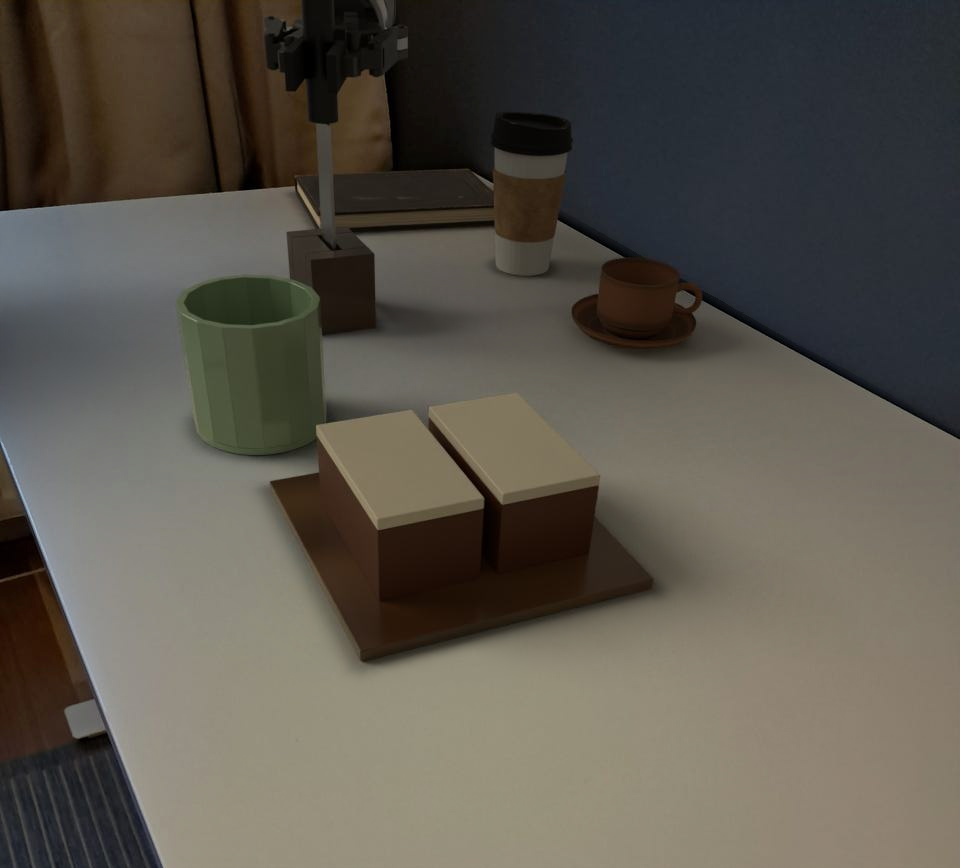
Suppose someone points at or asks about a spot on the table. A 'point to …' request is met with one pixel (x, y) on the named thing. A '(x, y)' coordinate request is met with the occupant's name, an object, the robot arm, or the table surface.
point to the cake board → (455, 605)
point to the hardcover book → (401, 199)
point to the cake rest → (400, 503)
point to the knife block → (336, 277)
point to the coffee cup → (528, 188)
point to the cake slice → (520, 480)
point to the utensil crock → (253, 362)
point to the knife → (321, 102)
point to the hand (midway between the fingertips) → (310, 73)
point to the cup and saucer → (637, 306)
